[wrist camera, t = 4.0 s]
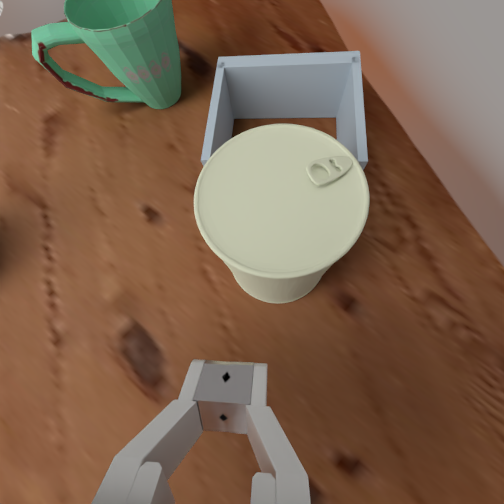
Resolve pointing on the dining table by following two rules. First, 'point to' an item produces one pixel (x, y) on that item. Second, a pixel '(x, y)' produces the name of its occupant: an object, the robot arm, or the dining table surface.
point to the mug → (119, 48)
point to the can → (281, 208)
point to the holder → (289, 95)
